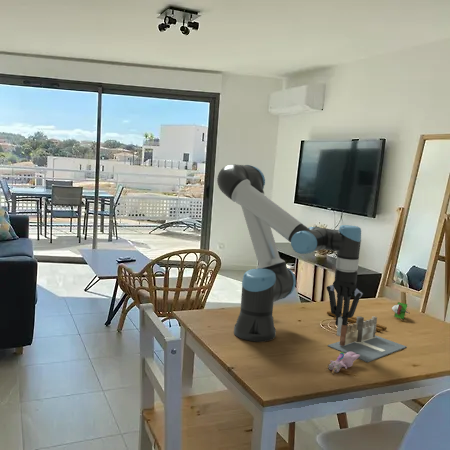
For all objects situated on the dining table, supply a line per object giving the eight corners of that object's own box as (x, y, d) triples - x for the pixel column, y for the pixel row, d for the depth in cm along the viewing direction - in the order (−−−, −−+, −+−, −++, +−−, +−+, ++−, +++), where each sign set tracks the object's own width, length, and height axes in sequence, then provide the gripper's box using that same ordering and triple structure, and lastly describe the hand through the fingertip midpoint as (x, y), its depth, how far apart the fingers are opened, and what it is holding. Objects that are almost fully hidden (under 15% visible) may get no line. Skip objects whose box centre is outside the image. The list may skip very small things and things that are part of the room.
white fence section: (358, 343, 169) (361, 318, 168) (353, 340, 171) (355, 317, 170) (376, 337, 177) (379, 314, 176) (370, 335, 179) (373, 312, 178)
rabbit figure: (337, 380, 141) (366, 362, 151) (337, 362, 140) (366, 345, 149) (320, 373, 146) (349, 355, 155) (320, 355, 145) (349, 339, 154)
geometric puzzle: (398, 308, 212) (395, 296, 207) (413, 312, 207) (410, 300, 203) (391, 320, 208) (388, 308, 204) (406, 324, 203) (403, 312, 199)
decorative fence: (376, 335, 182) (389, 330, 189) (376, 330, 182) (389, 326, 188) (323, 317, 201) (336, 313, 207) (323, 312, 200) (337, 309, 207)
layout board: (367, 362, 153) (367, 361, 153) (327, 346, 165) (327, 344, 165) (406, 347, 169) (406, 346, 169) (367, 333, 181) (367, 332, 181)
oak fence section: (353, 339, 171) (355, 321, 170) (357, 341, 169) (359, 322, 168) (338, 344, 165) (340, 325, 164) (342, 346, 163) (344, 326, 163)
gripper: (368, 271, 164) (361, 337, 166) (333, 265, 171) (327, 327, 174) (360, 274, 158) (353, 342, 160) (324, 267, 165) (318, 332, 168)
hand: (340, 334), depth 167 cm, fingers closed
